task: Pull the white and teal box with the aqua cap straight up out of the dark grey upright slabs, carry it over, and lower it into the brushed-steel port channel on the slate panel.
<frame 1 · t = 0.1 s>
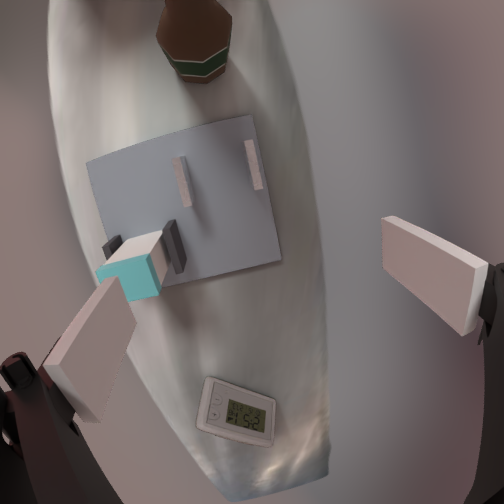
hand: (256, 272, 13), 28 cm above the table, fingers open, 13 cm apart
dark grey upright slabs: (151, 245, 41), resting on panel
panel: (182, 208, 40), on the table
port: (217, 169, 38), resting on panel
digital clock: (237, 393, 53), on the table
white and teal box: (149, 247, 40), point 1 cm above the table, touching panel
beer bottle: (200, 61, 33), on the table
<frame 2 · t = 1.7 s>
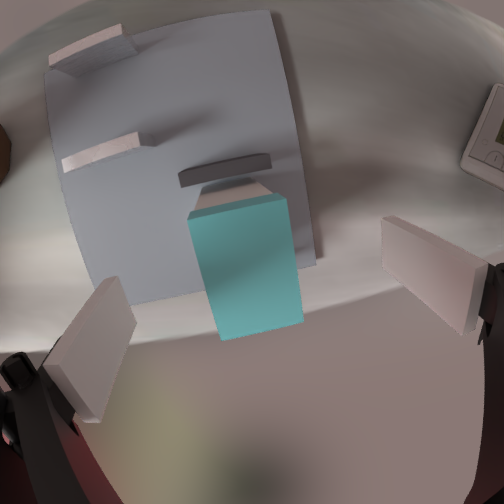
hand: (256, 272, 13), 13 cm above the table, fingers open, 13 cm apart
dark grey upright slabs: (233, 214, 25), resting on panel
panel: (172, 157, 23), on the table
port: (115, 105, 21), resting on panel
digital clock: (484, 132, 25), on the table
white and teal box: (233, 217, 24), point 1 cm above the table, touching panel
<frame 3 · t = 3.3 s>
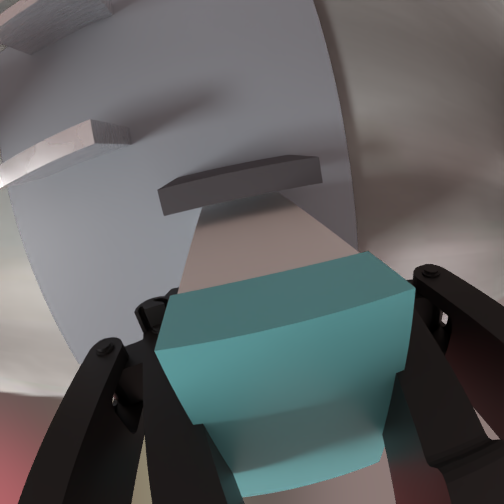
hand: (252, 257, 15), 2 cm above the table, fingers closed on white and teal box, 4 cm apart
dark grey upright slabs: (248, 244, 17), resting on panel
panel: (157, 160, 15), on the table
port: (79, 88, 13), resting on panel
white and teal box: (249, 249, 16), point 1 cm above the table, touching gripper, panel
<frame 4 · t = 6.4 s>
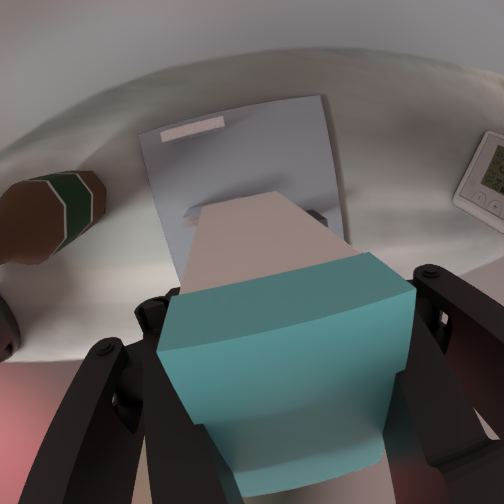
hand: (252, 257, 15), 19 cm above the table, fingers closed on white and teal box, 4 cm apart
panel: (251, 210, 34), on the table
port: (206, 168, 32), resting on panel
digital clock: (474, 171, 35), on the table
white and teal box: (250, 250, 16), point 18 cm above the table, touching gripper
beer bottle: (83, 198, 31), on the table
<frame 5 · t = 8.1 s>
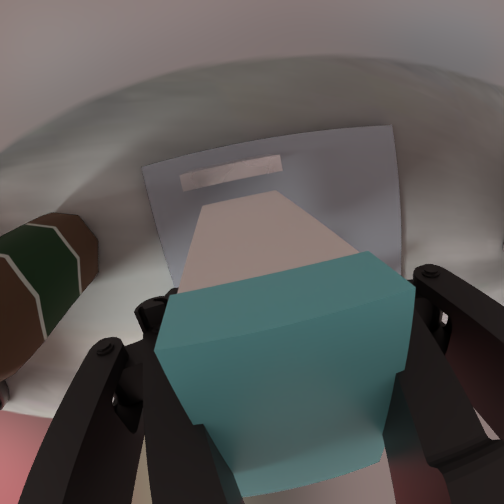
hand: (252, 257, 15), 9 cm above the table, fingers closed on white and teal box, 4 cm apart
panel: (296, 274, 26), on the table
port: (238, 219, 24), resting on panel
white and teal box: (249, 249, 16), point 8 cm above the table, touching gripper
beer bottle: (68, 249, 23), on the table
when the fingers open (3 cm above the table, at t = 9.5 s): white and teal box stays where it is, resting on panel.
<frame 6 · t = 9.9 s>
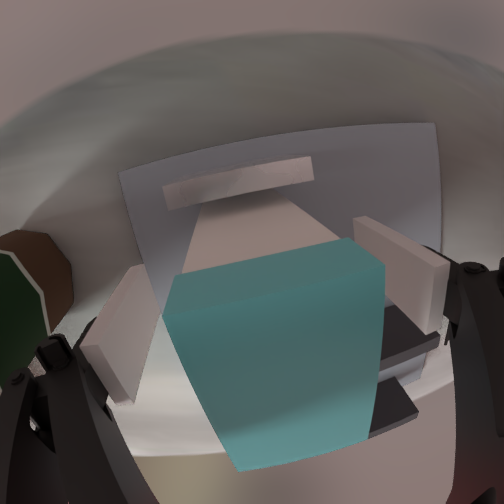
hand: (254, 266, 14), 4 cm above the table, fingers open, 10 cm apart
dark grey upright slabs: (365, 351, 23), resting on panel
panel: (317, 305, 20), on the table
port: (246, 239, 18), resting on panel
white and teal box: (247, 244, 17), point 1 cm above the table, touching panel
beer bottle: (38, 273, 18), on the table
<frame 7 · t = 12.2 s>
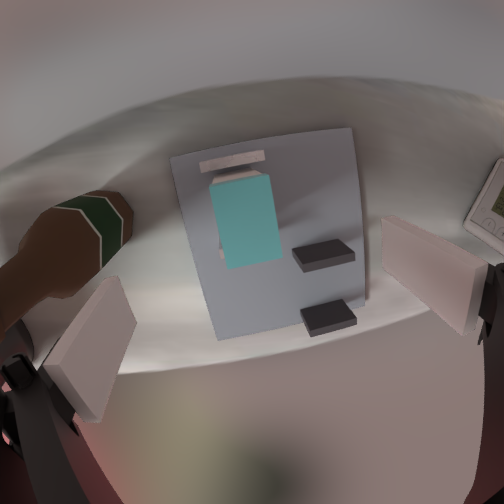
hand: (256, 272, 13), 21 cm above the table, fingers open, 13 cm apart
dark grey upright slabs: (316, 275, 37), resting on panel
panel: (280, 238, 35), on the table
port: (237, 196, 33), resting on panel
digital clock: (484, 197, 37), on the table
white and teal box: (237, 197, 32), point 1 cm above the table, touching panel
beer bottle: (107, 219, 32), on the table
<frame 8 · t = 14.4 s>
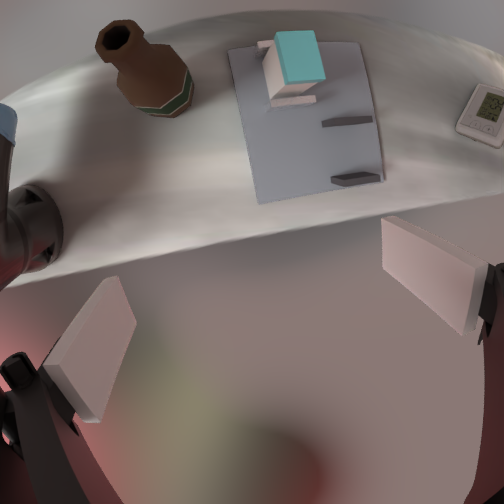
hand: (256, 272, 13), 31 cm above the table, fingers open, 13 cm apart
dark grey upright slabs: (341, 149, 42), resting on panel
panel: (311, 114, 40), on the table
port: (278, 80, 37), resting on panel
digital clock: (470, 113, 41), on the table
white and teal box: (279, 79, 36), point 1 cm above the table, touching panel
beer bottle: (169, 95, 37), on the table
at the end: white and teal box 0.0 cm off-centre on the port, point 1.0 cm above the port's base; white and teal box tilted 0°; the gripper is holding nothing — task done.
